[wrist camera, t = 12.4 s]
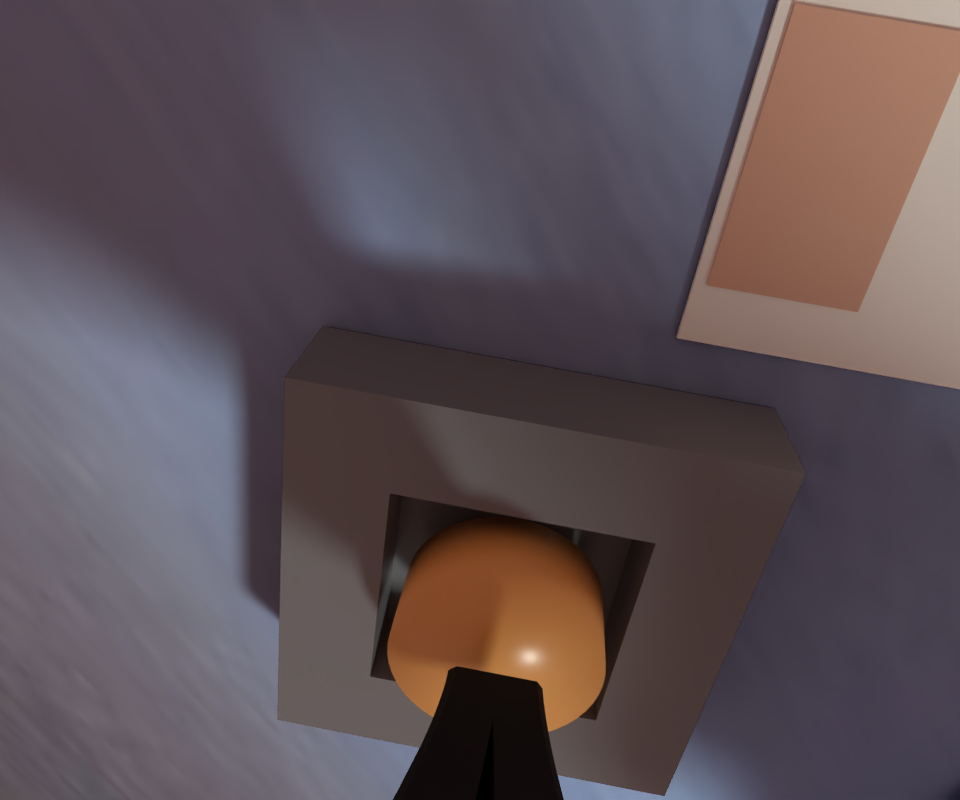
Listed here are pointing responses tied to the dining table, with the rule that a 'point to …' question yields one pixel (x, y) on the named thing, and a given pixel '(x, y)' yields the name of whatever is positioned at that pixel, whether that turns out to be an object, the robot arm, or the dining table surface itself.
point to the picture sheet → (843, 196)
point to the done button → (501, 614)
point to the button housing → (529, 496)
